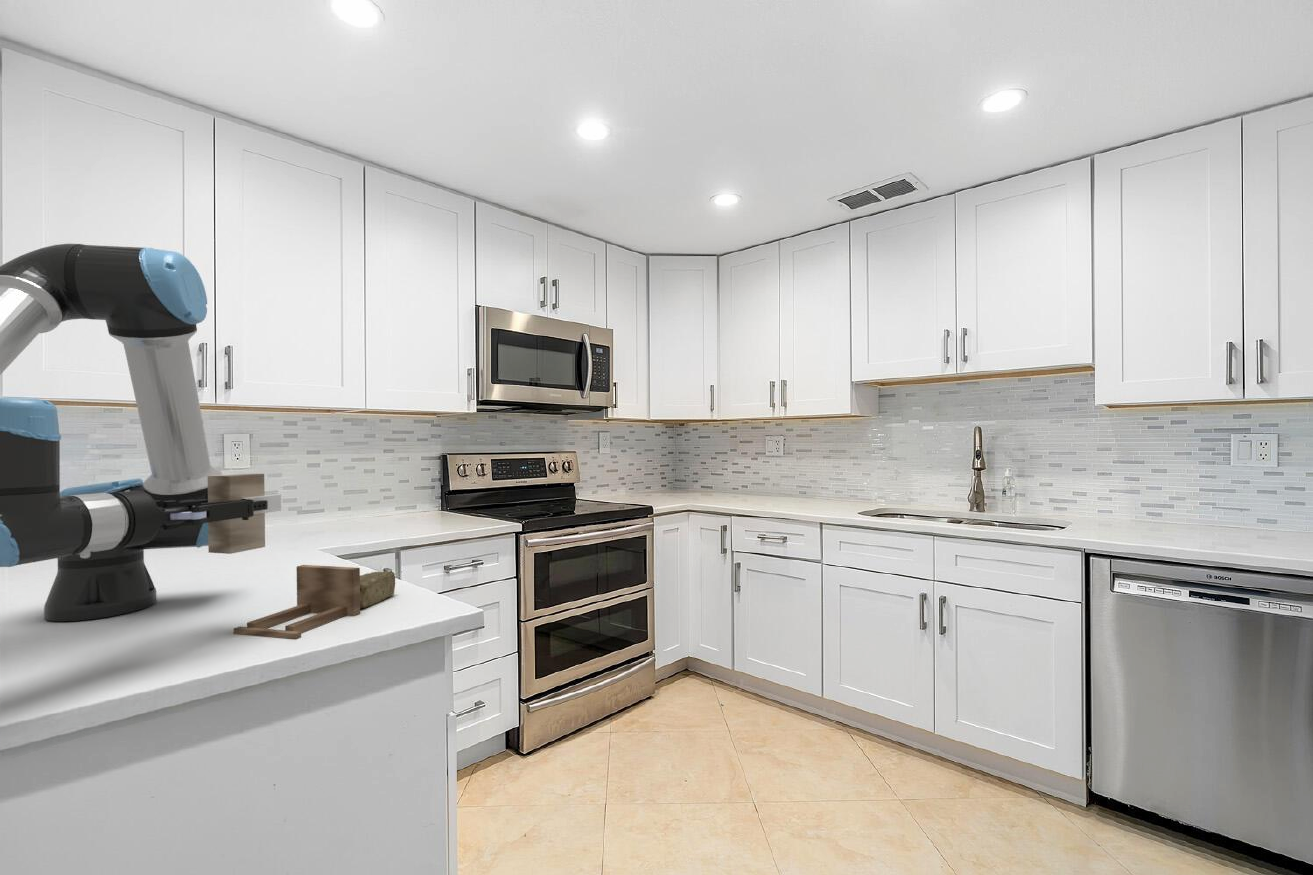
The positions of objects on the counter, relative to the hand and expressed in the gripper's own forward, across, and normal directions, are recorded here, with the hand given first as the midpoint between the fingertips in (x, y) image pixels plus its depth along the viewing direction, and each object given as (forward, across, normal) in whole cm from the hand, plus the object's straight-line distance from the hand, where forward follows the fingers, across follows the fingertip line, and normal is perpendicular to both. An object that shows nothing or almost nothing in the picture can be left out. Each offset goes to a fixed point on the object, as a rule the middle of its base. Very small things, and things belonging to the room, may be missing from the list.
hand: (266, 502), depth 104 cm
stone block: (+14, +8, -20) cm, 26 cm away
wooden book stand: (+1, +6, -20) cm, 21 cm away
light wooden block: (-5, 0, -7) cm, 9 cm away
